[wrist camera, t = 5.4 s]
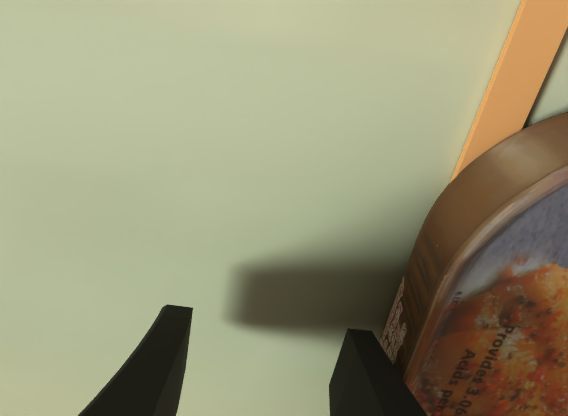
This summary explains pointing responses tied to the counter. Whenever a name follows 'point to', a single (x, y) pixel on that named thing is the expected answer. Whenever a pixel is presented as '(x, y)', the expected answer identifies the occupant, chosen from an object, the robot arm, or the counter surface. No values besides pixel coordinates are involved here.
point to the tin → (491, 286)
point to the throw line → (516, 76)
